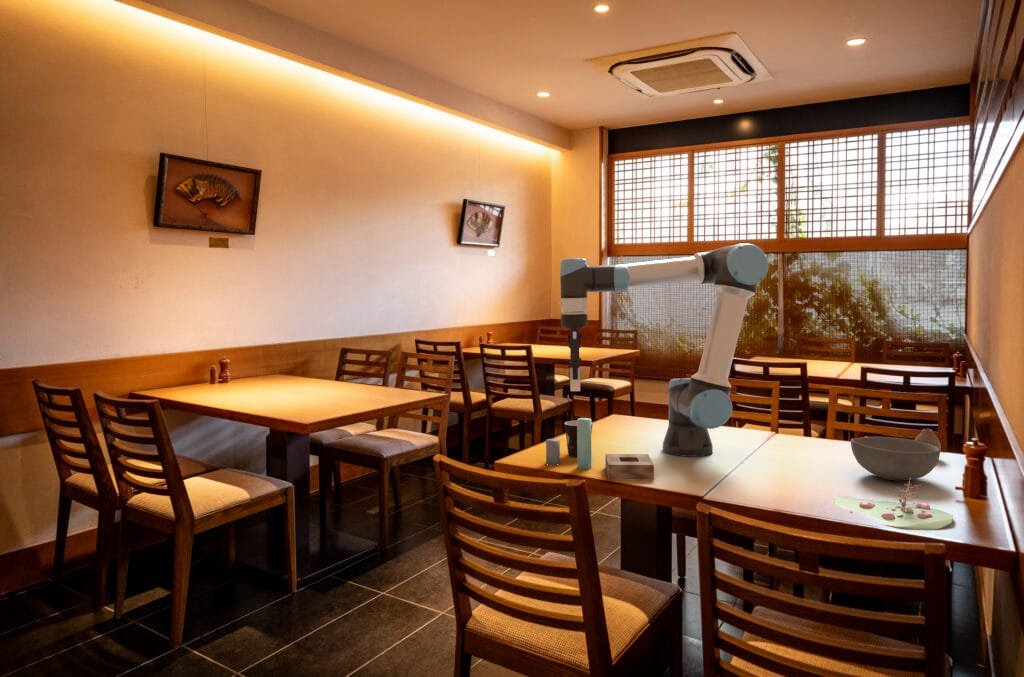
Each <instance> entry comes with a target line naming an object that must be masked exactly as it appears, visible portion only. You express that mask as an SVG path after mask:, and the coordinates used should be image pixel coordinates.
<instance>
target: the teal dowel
mask: <svg viewBox="0 0 1024 677" xmlns="http://www.w3.org/2000/svg"><path fill="white" fill-rule="evenodd" d="M576 421H577V458H576V460H577V463H576V464H577V466H576V468H577V469H578V468H579V469H578V470H591V469H592V434H591V422H592V418H588V417H579V418H577V420H576Z"/></svg>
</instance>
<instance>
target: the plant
mask: <svg viewBox="0 0 1024 677" xmlns="http://www.w3.org/2000/svg"><path fill="white" fill-rule="evenodd" d="M909 479H911V478H909ZM921 485H922V484H918V485H917V484H915V485H914V486H912V483H911V480H908V483H904V487H903V488H902V489H900V487H896V489H895V490H894V491H893V493H894V494H896V493H898V490H899V491H900V494H898V495H896V497H898V501H899V502H897V501H891V502H890V500H882V501H877V500H878V499H872V500H865V499H866V498H862V499H856V498H857V497H852V498H850V497H851V496H841V495H840V496H839V495H838V496H837V495H836V496H834V497H833V499H834V501H833V503H835V504H834V505H835V506H836V505H838V506H840V507H842V508H845V509H848V510H853V511H858V512H860V513H861V514H866V516H870V517H872V518H874V519H877V520H879V521H881V522H883V523H884V524H887V525H889V526H888V527H890V526H893V527H892V528H895V529H902V528H903V529H904V530H909V531H912V530H913V531H937V530H941V529H943V528H945V527H948V526H949V525H951V524H952V523H953V520H954V519H953V517H954V516H953V515H954V514H951V513H948V512H945V511H943V510H940V509H936V508H934V507H931V505H929V504H928V503H926V502H925V503H920V502H917V503H915V502H912V503H908V501H909V500H911V499H912V498H914V492H912V491H913V488H914V487H915V489H916V490H918V489H919V487H921ZM905 486H906V488H905ZM904 489H905V490H904ZM902 494H903V495H904V496H902ZM916 494H919V491H916ZM910 495H911V497H909V498H908V496H910ZM915 497H916V498H918V497H919V496H916V495H915ZM874 500H876V501H874ZM903 529H902V530H903Z"/></svg>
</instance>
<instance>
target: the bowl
mask: <svg viewBox="0 0 1024 677" xmlns="http://www.w3.org/2000/svg"><path fill="white" fill-rule="evenodd" d="M850 448H851V451H852V454H853V456H854V458H855V460H856V462H857V464H858V465H859V466H861V467H862V468H863V469H864V470H866V471H867V472H869V473H870V474H872V475H875V476H877V477H879V478H881V479H885V480H888V481H896V482H897V481H901V482H902V481H904V482H905V481H909V480H910V481H911V480H917V479H920V478H923V477H926V476H927V475H928V474H929V473H931V472H932V471H933V470H934V468H936V466H937V464H938V462H939V459H940V455H941V451H940V450H939V448H938V447H936V446H933V445H930V444H927V443H924V442H920V441H916V440H915V439H909V438H908V439H907V438H901V437H892V436H866V437H865V436H863V437H858V438H856V437H855V438H851V439H850ZM909 478H911V479H909Z"/></svg>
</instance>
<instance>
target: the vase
mask: <svg viewBox="0 0 1024 677" xmlns="http://www.w3.org/2000/svg"><path fill="white" fill-rule="evenodd" d="M933 431H934V430H932V429H930V428H923V429H922V430H921V432H920V433H919V434H918V435H917V436H916V437H915V438H914V440H916V441H920V442H924V443H927V444H930V445H933V446H936V447H938V448H939V450H940V452H941V449H942V447H941V442H940V439H939V438H938V436H937V435H936V434H935V432H933Z"/></svg>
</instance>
